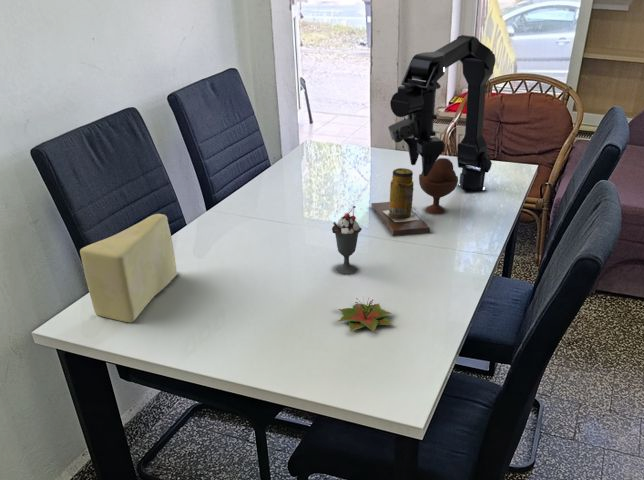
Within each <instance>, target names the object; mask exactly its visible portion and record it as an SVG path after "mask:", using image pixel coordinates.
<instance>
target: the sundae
mask: <svg viewBox="0 0 644 480" xmlns="http://www.w3.org/2000/svg"><path fill="white" fill-rule="evenodd" d="M355 208H357V206H356V205H353V206H352V208H351V209H350V211H349V212H348V213H344V216H341V217H340V218H339V219H338V221H337V222H335V221H334V222H332V223H333V226H332V227H331V231H332V234H335V235H334V236H335V239H336V247H337V251H338V253H339V254H340V255H341V256H342V257H343V263H342V264H339V265H337V266H336V267H335V271H336V272H337V273H339V274H341V275H352V274H354V273H356V272H357V271H358V267H356V265H354V264H350V256H352V255H353V254H354V253H355V252H356V250H357V243H358V238H359V233H360V232H361V231H362V230H363V228H362V227H361V226H360V224H359V222H357V220H356V219H357V217H356V215H354V213H355V212H354V211H355ZM351 212H352V215H350V214H351Z"/></svg>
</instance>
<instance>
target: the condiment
mask: <svg viewBox="0 0 644 480" xmlns="http://www.w3.org/2000/svg"><path fill="white" fill-rule="evenodd" d="M413 175H414V173H413V170H412V169H410V168H404V167H401V168H400V167H399V168H394V170H393V171H392V177H391V181H390V186H389V189H390V190H389V202H390V204H389V210H387V211H383V212H384V213H385V214H386V215H387V216H388V217H390V218H391V219H392V220H393V221H394V222H405V221H411V220H418V219H419V218H418V217H417V216H416V215H414V214H413V213H412V212H411V210H412V209H413V201H414V198H413V196H414V181H413V179H414V176H413Z"/></svg>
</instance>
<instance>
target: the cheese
mask: <svg viewBox="0 0 644 480" xmlns="http://www.w3.org/2000/svg"><path fill="white" fill-rule="evenodd" d="M79 254H80V259H81V263H82V268H83V272H84V278H85V281H86V286H87V288H88V293H89V296H90V300H91V304H92V308H93V311H94V313H95V315H97V316H99V317H103V318H107V319H111V320H116V321H120V322H124V323H133V322H135V320H137V318H138V317H139V316H140V314H141V313H142V312H143V310H144V309H145V308H146V307H147V306H148V304H149V303H150V302H151V301H152V300H153V298H155V296H156V295H158V294H159V293H160V292H161V291H162V290H163V289H165V288H166V287H167V286H168V285H169V284H170V283H171V282H172V281H173V280H174V279H175V278H176V276H177V273H178V270H177V262H176V261H177V260H176V254H175V248H174V242H173V238H172V234H171V229H170V225H169V221H168V216H167V215H166V214H162V213H155V214H152V215H150V216H148V217H145V218H144V219H143V220H141V221H140V222H137V223H136V224H133V225H131V226H130V227H128V228H126V229H123V230H122V231H119V232H118V233H115V234H114V235H111V236H109V237H107V238H104V239H101V240H98V241H96V242H93V243H91V244H88V245H85V246H84V247H82V248H80V249H79Z"/></svg>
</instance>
